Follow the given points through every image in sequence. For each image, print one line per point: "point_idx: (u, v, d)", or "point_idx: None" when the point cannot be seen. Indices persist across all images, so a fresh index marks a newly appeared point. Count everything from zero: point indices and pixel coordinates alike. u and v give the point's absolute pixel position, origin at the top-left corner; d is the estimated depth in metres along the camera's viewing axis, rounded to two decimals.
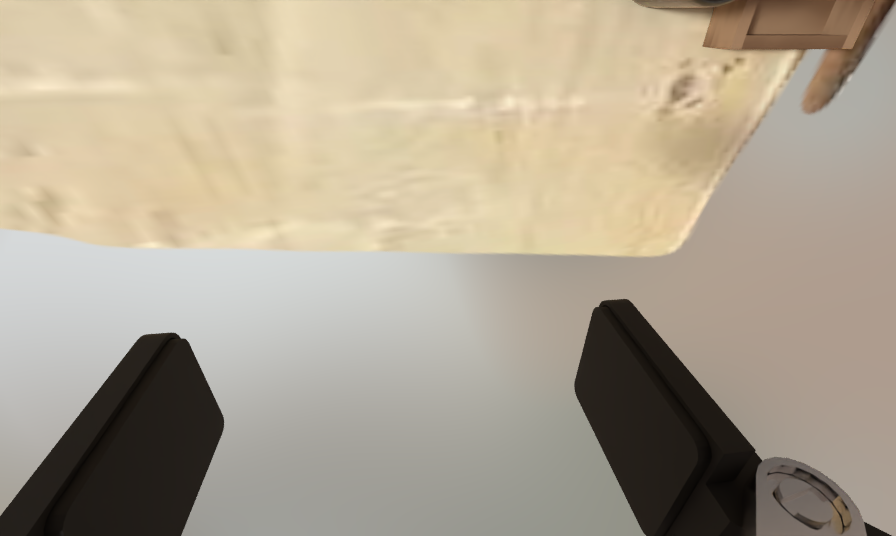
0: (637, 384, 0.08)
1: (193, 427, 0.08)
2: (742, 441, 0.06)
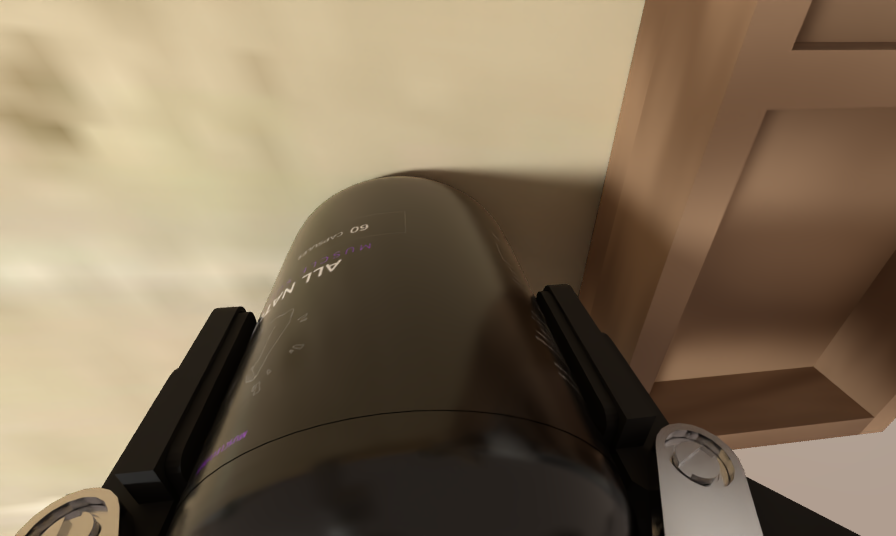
0: (567, 361, 0.08)
1: None
2: (646, 408, 0.07)
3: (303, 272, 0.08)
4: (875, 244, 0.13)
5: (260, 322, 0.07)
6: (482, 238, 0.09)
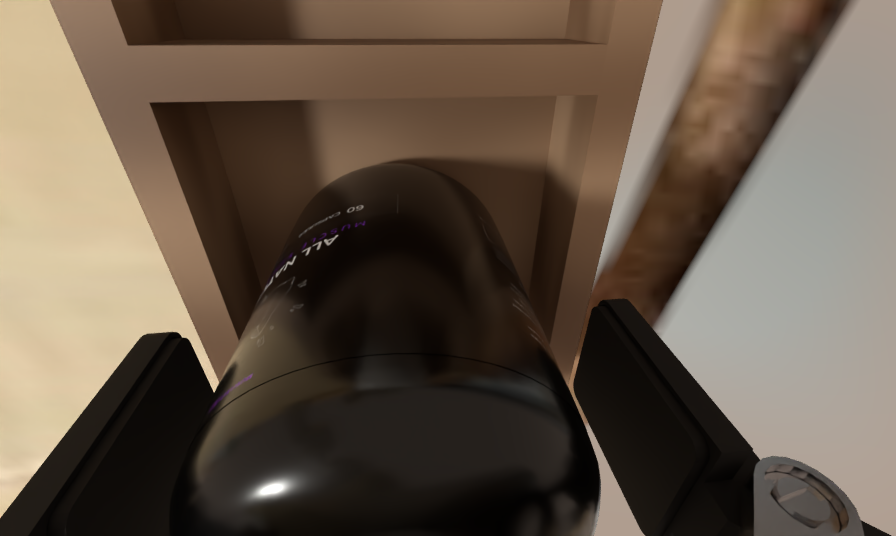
0: (635, 383, 0.08)
1: (194, 426, 0.08)
2: (739, 440, 0.06)
3: (303, 247, 0.08)
4: (510, 236, 0.14)
5: (264, 292, 0.08)
6: (469, 219, 0.09)
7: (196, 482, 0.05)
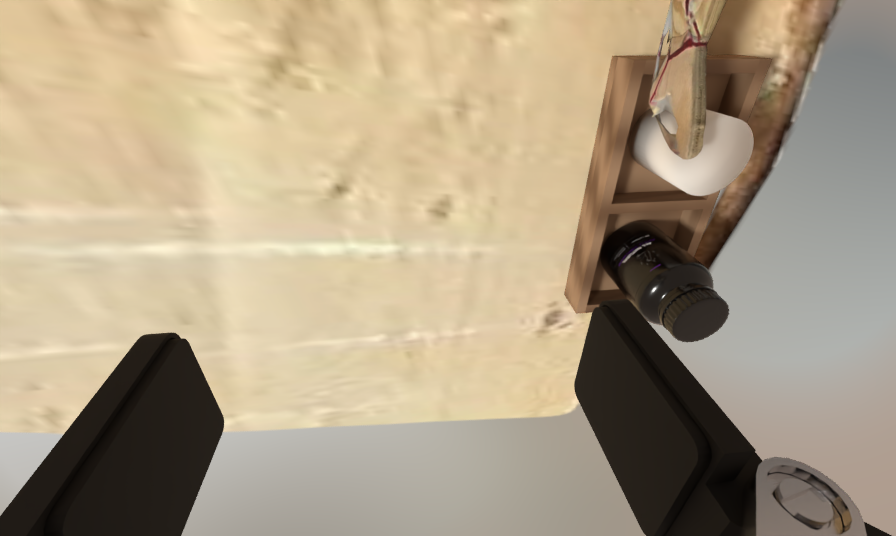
0: (637, 384, 0.08)
1: (193, 427, 0.08)
2: (742, 441, 0.06)
3: (639, 244, 0.37)
4: None
5: (632, 254, 0.37)
6: (670, 238, 0.38)
7: (659, 277, 0.34)
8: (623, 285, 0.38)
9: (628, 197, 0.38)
